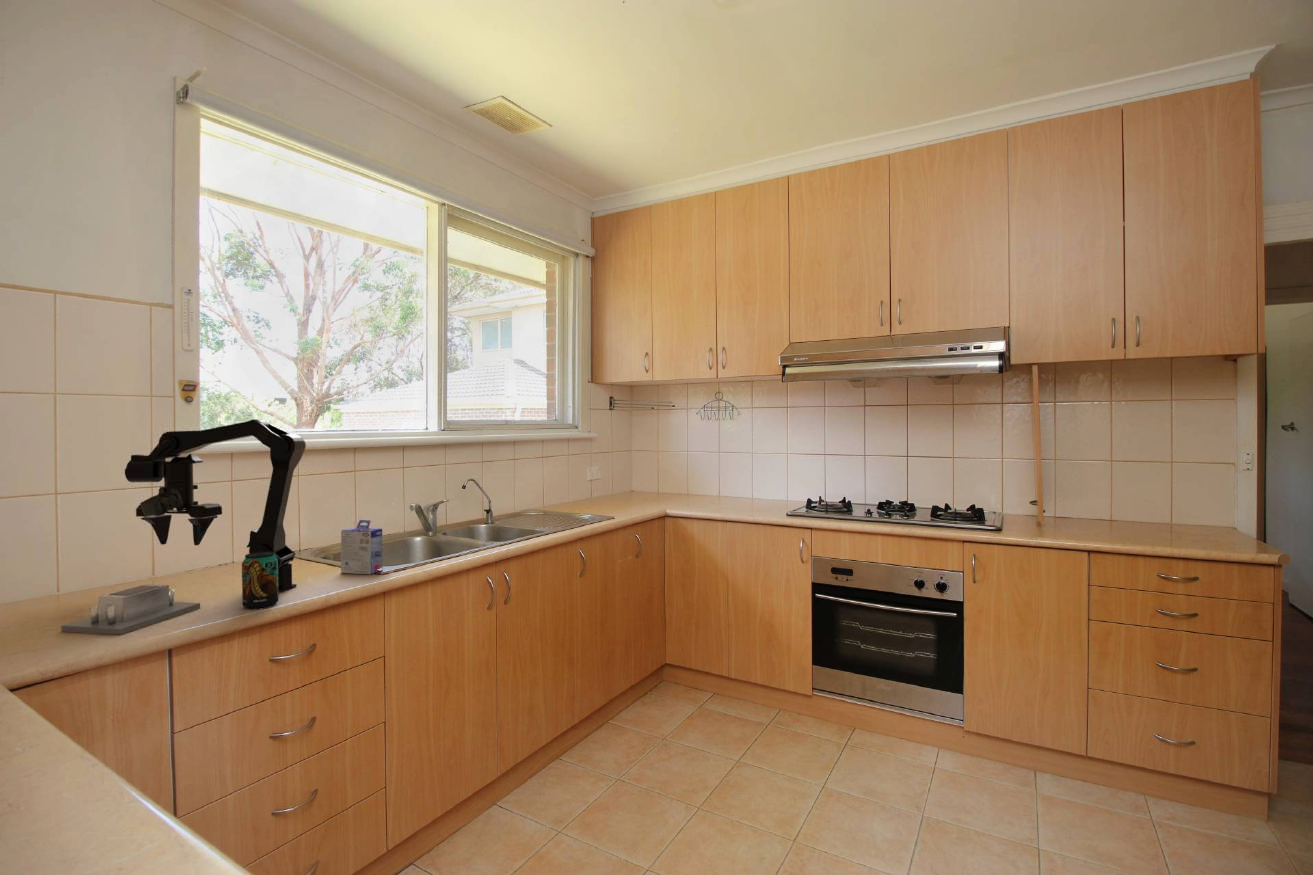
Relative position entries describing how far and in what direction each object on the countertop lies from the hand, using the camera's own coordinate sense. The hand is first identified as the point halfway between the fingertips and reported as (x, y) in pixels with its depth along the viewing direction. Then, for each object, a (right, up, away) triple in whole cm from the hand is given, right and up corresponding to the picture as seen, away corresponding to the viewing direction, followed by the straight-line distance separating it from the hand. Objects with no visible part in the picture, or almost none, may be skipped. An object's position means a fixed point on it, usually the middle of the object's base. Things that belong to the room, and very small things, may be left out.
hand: (180, 544), depth 154 cm
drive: (+6, -11, -20) cm, 24 cm away
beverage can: (+27, -13, -10) cm, 31 cm away
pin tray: (+6, -13, -20) cm, 24 cm away
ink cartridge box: (+35, -12, +22) cm, 43 cm away
